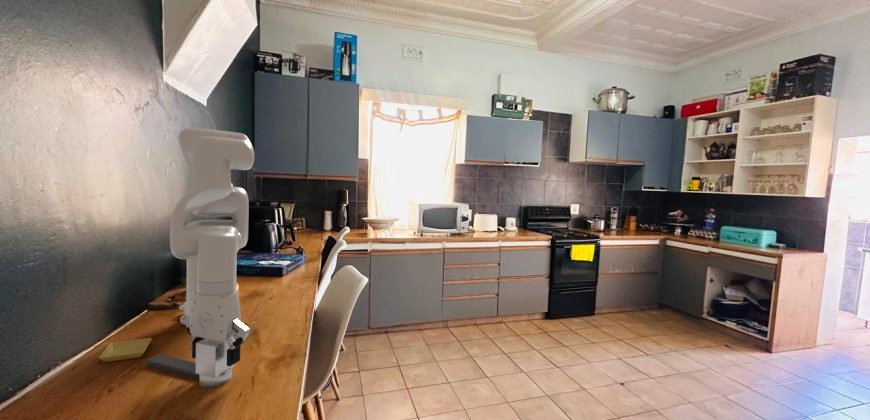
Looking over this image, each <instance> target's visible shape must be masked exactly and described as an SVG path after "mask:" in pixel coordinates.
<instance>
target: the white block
mask: <svg viewBox="0 0 870 420" xmlns="http://www.w3.org/2000/svg"><path fill="white" fill-rule="evenodd" d="M231 339H232V340H233V342H234V341H235V339H234V337H231ZM227 349H229V346H228V345H227V343H226V341H225V340H224V341H215V340H210V339H203V340H201V341H199V342H197V343H196V358H195V363H196V373H197V374H201V375H205V376H209V377H213V378H216V377H218V376H219V375H221V374H223V373H224V372H226V371H228V370H229V369H231V368H232V369H234V367H236V363H235V364H233V365H232V366H230V367H229V366H227Z"/></svg>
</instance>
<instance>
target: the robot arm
mask: <svg viewBox="0 0 870 420" xmlns="http://www.w3.org/2000/svg"><path fill="white" fill-rule="evenodd" d="M178 144H179V148H180V151H181V154H182V156H183V158H184V160H185V163H186V165H187V168H188V171H189V190H188V192H187V193H186V194H184V195H183V196H182V197H181V198H180V200H178V201H177V202H176V204H175V206H174V208H173V210H172V213H171V216H170V223H169V227H170V228H169V248H170V252H171V254H172V255H173V257H174V258H177V259H179V260H186V301H184V302H183V304H182V305H179V307H178V308H179V309H178V310H181V311H184V313H183V315H181V317H180V318H179V319H180V321H179V322H180V324H181V325H184V326H185V327H186V331H187V333H188V335H189V340H190V341H191V358H192V359H196V343H197V342H199V341H201V340H203V339H210V340H215V341H224V340H225V341H226V343H227V345H228V346H229V349H227V366H229V367H230V366H232V365H233V364H235V365H236V364H237V363H239V362H240V361H241V346H242V345H243V344H244V343H245V342H246V341H247V339H248V337H249V335H250V332H251V330H250V328H249V327H248V326H247V325H245V324H244V323H243V322H241V317H242V316H241V307H240V306H241V304H240V300H239V299H240V298H239V292H238V291H237V261H238V259H237V255H238V251H239V250H241V249H242V248H244V247H246V245H247V243H248V241H249V213H250V212H249V211H250V210H249V208H250V207H249V203H250V202H249V195H248V192H247V191H246V190H245V189H244V188H243V187H239V186H232V178H231V177H232V174H231V170H237V171H249V170H251V169H252V167H253V166H254V162H255V149H254V147H253V144H252V142H251V141H250V139H249V137H248V136H247V135H246V134H245V133H242V132H236V131H235V132H234V131H226V130H219V129H213V128H211V129H210V128H204V127H203V128H201V127H200V128H199V127H187V128H184V129H182V130H181V131H180V132H179V135H178ZM190 213H192V214H193V215H195V216H200V217H230V218H232V219H203V220H202V219H199V220H194V221H190V222H188V223H187V224H186V225H185V223H186V218H187V216H188V215H189V214H190ZM231 337H234V339H235V341H234V342H233V340H232V339H231Z"/></svg>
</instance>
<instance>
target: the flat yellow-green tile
mask: <svg viewBox="0 0 870 420" xmlns="http://www.w3.org/2000/svg"><path fill="white" fill-rule="evenodd" d="M152 339H153V338H152V337H149V338H148V337H147V338H139V339H131V340H130V339H129V340H122V341H112V342H111V343H109V344H108V345H107V347H106V348H105V350H104V351H103V352H102V353H101V354H100V355H99V357H98V358H99V360H101V361H103V362H105V363H108V362H116V361H123V360H130V359H131V360H132V359H138V358H141V357H142V356H143V355H144V354H145V352H146V350H147V349H148V346H149V345H150V343H151V341H152Z"/></svg>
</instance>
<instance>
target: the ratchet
mask: <svg viewBox="0 0 870 420" xmlns="http://www.w3.org/2000/svg"><path fill="white" fill-rule="evenodd" d="M145 361H146V362H145V364H146V367H148V368H153V369H155V368H157V369H156V370H159V369H161V370H160V371H163V370H165V371H164V372H167V371H168V372H167V373H171V372H173V374H175V373H176V375H180V376H184V377H187V378H192V379H195V380H198V383H199V385H200V386H202V387H207V388H209V387H210V388H212V387H218V386H220V385H223V384H225V383H228V382H229V381H230V380H231V379H232V377H233V368H231V369H229V370H228V371H226V372H224V373H223V374H221V375H219V376H218V377H216V378H213V377H209V376H205V375H201V374H197V373H196V361H195V362H194V361H191V360H187V359H183V358H179V357H174V356H170V355H164V354H161V353H159V354H156V355H154V356H152V357H150V358H148V359H146V360H145Z"/></svg>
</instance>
